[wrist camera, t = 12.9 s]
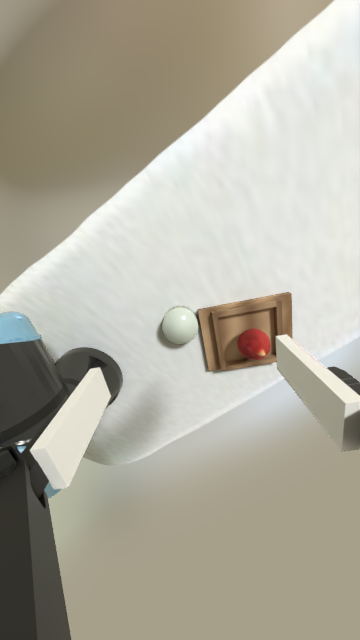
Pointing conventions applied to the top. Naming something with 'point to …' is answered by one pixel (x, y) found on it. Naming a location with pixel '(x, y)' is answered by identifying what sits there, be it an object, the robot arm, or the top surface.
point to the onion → (254, 344)
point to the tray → (243, 329)
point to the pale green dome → (180, 325)
